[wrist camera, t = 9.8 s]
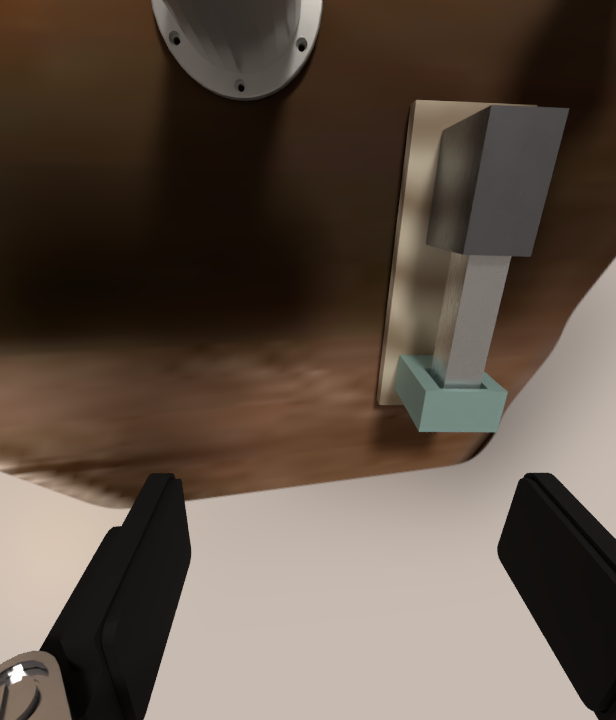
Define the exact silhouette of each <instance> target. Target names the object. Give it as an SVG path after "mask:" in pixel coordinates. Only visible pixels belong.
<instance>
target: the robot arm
mask: <svg viewBox="0 0 616 720" xmlns="http://www.w3.org/2000/svg"><path fill="white" fill-rule="evenodd" d="M151 2H152V8H153V12H154V15H155V18H156V21H157V24H158V27H159V30H160V33H161V35H162V36H163V38H164V40H165V42H166V44H167V46H168V48H169V50H170V52H171V53H172V54H173V56H174V57H175V59H176V60H177V61H178V63H179V64H180V65H181V67H182V68H183V69H184V70H185V71H186V72H187V74H188V75H189V76H190V77H192V78H193V79H194V80H195V81H196V82H197V83H199V84H200V85H201V86H202V87H204V88H206V89H207V90H209V91H211V92H213V93H214V94H216V95H219V96H222V97H225V98H228V99H231V100H241V101H250V100H258V99H262V98H265V97H268V96H270V95H273V94H275V93H277V92H278V91H280V90H281V89H283V88H284V87H286V86H287V85H288V84H289V83H290V82H291V81H292V80H293V79H294V78H295V77H296V76H297V75H298V74H299V73H300V71H301V70H302V68H303V67H304V65H305V64H306V62H307V61H308V59H309V57H310V54H311V52H312V50H313V48H314V45H315V43H316V39H317V35H318V32H319V28H320V23H321V16H322V10H323V0H151ZM178 39H179V40H180V43H179V45H175V41H176V40H178ZM301 45H302V46H304V48H305V50H304V51H303V52H300V51H299V50H298V47H299V46H301ZM241 85H242V86H244V87H245V89H244V91H243V92H240V91H239V87H240V86H241ZM497 551H498V556H499V559H500V561H501V563H502V565H503V566H504V568H505V570H506V571H507V573H508V575H509V577H510V578H511V580H512V582H513V584H514V585H515V587H516V589H517V590H518V592H519V594H520V595H521V597H522V599H523V601H524V602H525V604H526V606H527V608H528V609H529V611H530V613H531V614H532V616H533V618H534V620H535V621H536V623H537V625H538V626H539V628H540V630H541V632H542V633H543V635H544V637H545V638H546V640H547V642H548V644H549V645H550V647H551V649H552V651H553V652H554V654H555V656H556V657H557V659H558V661H559V662H560V664H561V666H562V668H563V669H564V671H565V673H566V674H567V676H568V678H569V680H570V681H571V683H572V685H573V687H574V688H575V690H576V692H577V693H578V695H579V697H580V698H581V700H582V701H583V703H584V704H585V705H586V707H587V708H588V709H590V710H592V711H594V713H595V715H596V716H597V718H598V720H616V539H615V538H614V537H613V536H612V535H611V534H610V533H609V532H608V531H607V530H606V529H605V528H604V527H603V526H602V525H601V524H600V523H599V521H597V519H596V518H595V517H594V516H593V515H592V514H591V513H590V512H589V511H588V510H587V509H586V508H585V507H584V506H583V505H582V504H581V503H580V502H579V501H578V500H577V499H576V498H575V497H574V496H573V495H572V494H571V493H570V492H569V491H568V490H567V488H565V486H563V484H562V483H561V482H560V481H559V480H558V479H557V478H556V477H555V476H554V475H552V474H550V473H527V474H525V475H524V477H523V478H522V479H520V480H519V482H518V485H517V488H516V491H515V494H514V497H513V500H512V503H511V507H510V510H509V512H508V516H507V519H506V522H505V525H504V528H503V531H502V534H501V537H500V541H499V543H498V547H497ZM190 559H191V545H190V538H189V531H188V523H187V516H186V509H185V502H184V494H183V487H182V481H181V479H175V476H174V474H172V473H152V474H150V475H149V477H148V478H147V480H146V482H145V484H144V486H143V487H142V489H141V491H140V493H139V495H138V497H137V498H136V500H135V502H134V504H133V506H132V508H131V510H130V511H129V514H128V515H127V517H126V519H125V521H124V522H123V524H122V526H119V527H113V528H111V529H110V530H109V531H108V533H107V534H106V535H105V537H104V539H103V541H102V542H101V544H100V546H99V547H98V549H97V551H96V553H95V554H94V556H93V558H92V560H91V561H90V563H89V565H88V567H87V568H86V570H85V572H84V574H83V575H82V577H81V579H80V581H79V582H78V584H77V586H76V587H75V589H74V591H73V593H72V594H71V596H70V598H69V600H68V601H67V603H66V605H65V606H64V608H63V610H62V612H61V614H60V615H59V617H58V619H57V620H56V622H55V624H54V626H53V627H52V629H51V631H50V632H49V634H48V636H47V638H46V639H45V641H44V643H43V645H42V646H41V648H40V650H39V651H31V652H27V653H23V654H19V655H17V656H15V657H13V658H11V659H9V660H7V661H5V662H3V663H2V664H1V665H0V720H143V719H144V717H145V714H146V711H147V708H148V704H149V701H150V697H151V693H152V691H153V687H154V684H155V680H156V677H157V674H158V670H159V667H160V663H161V660H162V656H163V653H164V650H165V646H166V643H167V639H168V636H169V632H170V629H171V626H172V622H173V619H174V616H175V612H176V609H177V606H178V602H179V599H180V595H181V592H182V589H183V585H184V582H185V578H186V575H187V571H188V568H189V564H190Z"/></svg>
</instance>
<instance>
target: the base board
mask: <svg viewBox="0 0 616 720" xmlns="http://www.w3.org/2000/svg"><path fill="white" fill-rule="evenodd" d="M490 105H505V106H528V107H537V106H538V105H520V104H498V103H475V102H452V101H429V100H416V101H414V102H413V103H412V104H411V106H410V115H409V123H408V132H407V140H406V149H405V158H404V166H403V175H402V184H401V192H400V201H399V209H398V218H397V227H396V235H395V244H394V252H393V261H392V270H391V278H390V287H389V295H388V304H387V313H386V321H385V330H384V339H383V347H382V356H381V364H380V373H379V382H378V390H377V401H378V403H379V405H404V404H403V402H402V401H401V399H400V397H399V395H398V393H397V392H396V390H395V386H396V379H397V371H398V364H399V357H400V355H434V350H435V344H436V339H437V333H438V327H439V322H440V316H441V310H442V305H443V299H444V293H445V288H446V282H447V276H448V271H449V265H450V259H451V254H452V252H451V251H447V250H444V249H440V248H437V247H433V246H429V245H426V239H427V232H428V225H429V218H430V212H431V205H432V198H433V191H434V185H435V178H436V171H437V165H438V158H439V151H440V144H441V138H442V131H443V130H444V129H446V128H448V127H450V126H452V125H454V124H456V123H458V122H460V121H462V120H463V119H465V118H467V117H469V116H471V115H473V114H475V113H477V112H479V111H481V110H483V109H485V108H486V107H488V106H490Z"/></svg>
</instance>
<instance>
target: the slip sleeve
mask: <svg viewBox="0 0 616 720" xmlns="http://www.w3.org/2000/svg"><path fill="white" fill-rule="evenodd" d="M568 112H569V108H551V107H528V106H505V105H490V106H488V107H486V108H485V109H483V110H481V111H479V112H477V113H475V114H473V115H471V116H469V117H467V118H465V119H463V120H462V121H460V122H458V123H456V124H454V125H452V126H450V127H448V128H446V129H444V130H443V131H442V138H441V144H440V151H439V158H438V165H437V171H436V178H435V185H434V191H433V198H432V205H431V212H430V218H429V225H428V232H427V239H426V245H429V246H433V247H437V248H440V249H444V250H447V251H451V252H454V253H458V254H461V255H485V256H525V257H531V254H532V250H533V246H534V242H535V239H536V235H537V231H538V227H539V223H540V219H541V216H542V212H543V208H544V204H545V200H546V196H547V193H548V189H549V185H550V181H551V177H552V173H553V170H554V166H555V162H556V158H557V154H558V150H559V146H560V143H561V139H562V135H563V131H564V127H565V123H566V120H567V116H568Z"/></svg>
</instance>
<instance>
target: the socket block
mask: <svg viewBox="0 0 616 720" xmlns="http://www.w3.org/2000/svg"><path fill="white" fill-rule="evenodd" d="M433 356H434V355H400V357H399V364H398V371H397V379H396V386H395V390H396V392H397V393H398V395H399V397H400V399H401V401H402V402H403V404H404V406H405V408H406V410H407V411H408V413H409V415H410V417H411V419H412V420H413V422H414V424H415V426H416V428H417V429H418V431H419V432H497V430H498V426H499V423H500V419H501V415H502V412H503V408H504V405H505V401H506V397H507V394H508V392H507V391H506V390H505V389H504V388H503V387H501V386H500V385H499V384H498V383H497V382H496V381H495V380H493V379H492V378H491V377H490V376H489V375H488V374H486V373H485V372H484V373H483V377H482V381H481V385H480V389H440V388H439V387H438V385H437V384H436V383H435V382H434V380H433V379H432V378H431V377H430V372H431V367H432V361H433Z"/></svg>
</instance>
